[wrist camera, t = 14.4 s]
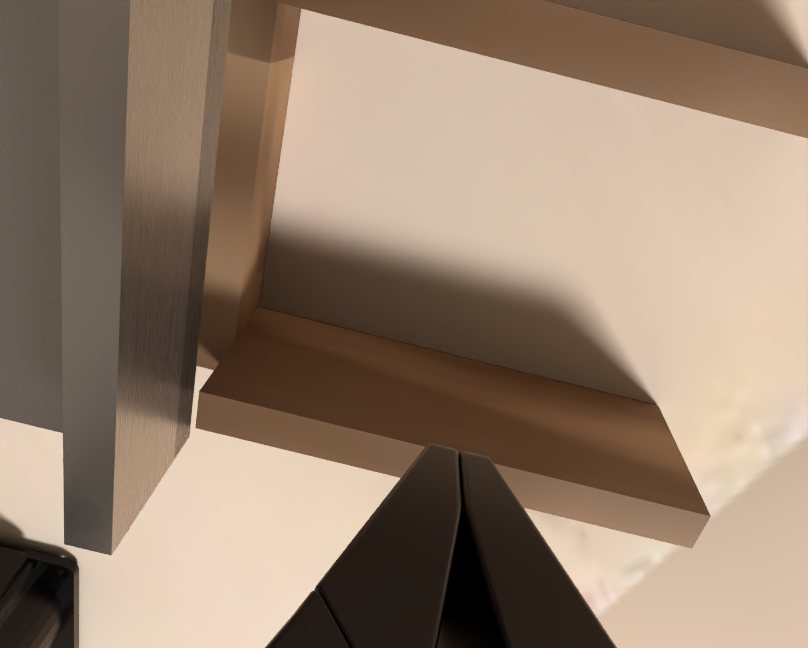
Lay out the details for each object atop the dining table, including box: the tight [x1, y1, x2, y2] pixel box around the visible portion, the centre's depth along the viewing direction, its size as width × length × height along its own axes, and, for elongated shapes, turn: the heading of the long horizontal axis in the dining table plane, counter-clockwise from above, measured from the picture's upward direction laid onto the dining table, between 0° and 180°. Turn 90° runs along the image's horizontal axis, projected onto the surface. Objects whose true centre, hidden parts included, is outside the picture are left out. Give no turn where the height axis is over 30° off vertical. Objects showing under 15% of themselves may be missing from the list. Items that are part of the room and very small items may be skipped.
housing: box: [196, 0, 808, 548], centre depth 17 cm, size 12×31×5 cm, turn 77°
